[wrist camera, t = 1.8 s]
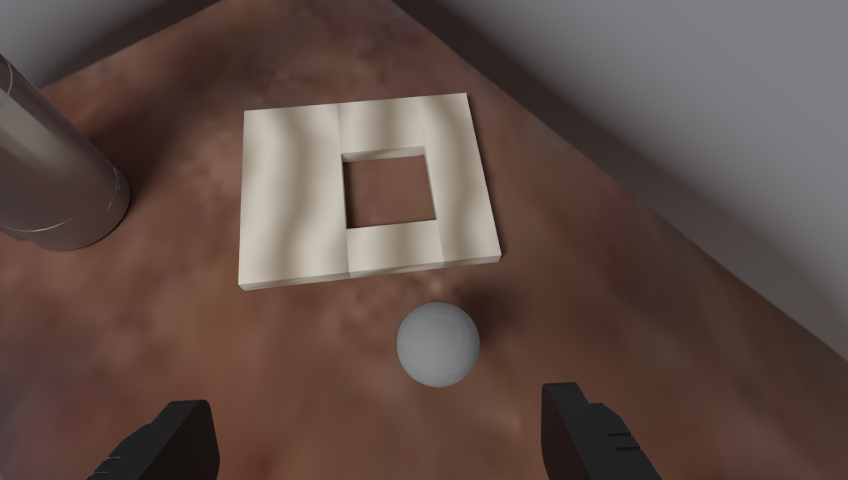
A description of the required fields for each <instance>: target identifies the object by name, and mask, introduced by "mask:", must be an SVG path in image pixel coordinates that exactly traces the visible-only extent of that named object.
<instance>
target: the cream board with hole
mask: <svg viewBox="0 0 848 480" xmlns="http://www.w3.org/2000/svg"><path fill="white" fill-rule="evenodd" d="M418 155H425V161H426V167H427V173H428V180H429V186H430V192H431V198H432V205H433V211H434V217H435V220H431V221H421V222H412V223H402V224H393V225H383V226H373V227H364V228H354V229H347V215H346V201H345V187H344V173H343V162H353V161H364V160H375V159H386V158H397V157H407V156H418ZM500 257H501V251H500V246H499V242H498V237H497V232H496V228H495V223H494V219H493V214H492V210H491V205H490V200H489V196H488V191H487V187H486V182H485V178H484V173H483V169H482V164H481V159H480V155H479V150H478V146H477V141H476V137H475V132H474V127H473V123H472V118H471V114H470V109H469V105H468V100H467V96H466V93H459V94H447V95H435V96H423V97H410V98H398V99H386V100H374V101H362V102H349V103H337V104H325V105H313V106H300V107H288V108H276V109H264V110H251V111H244V137H243V166H242V195H241V225H240V254H239V283H238V285H239V286H240V287H241V288H242V289H243V290H253V289H262V288H271V287H279V286H288V285H297V284H306V283H315V282H324V281H332V280H341V279H350V278H359V277H368V276H377V275H385V274H394V273H403V272H412V271H421V270H430V269H438V268H447V267H456V266H465V265H474V264H483V263H491V262H498V261H499V259H500Z"/></svg>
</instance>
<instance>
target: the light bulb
mask: <svg viewBox="0 0 848 480" xmlns="http://www.w3.org/2000/svg"><path fill="white" fill-rule="evenodd" d="M479 350H480V339H479V334H478V330H477V328H476V326H475V324H474V322H473V321H472V319H471V318H470V317H469V316H468V314H466V313H465V312H464V311H463V310H462V309H460V308H458V307H456V306H454V305H452V304H448V303H444V302H432V303H427V304H424V305H421V306H419V307H417V308H416V309H414V310H413V311H412V312H410V313H409V314H408V315H407V317H406V318H405V319H404V321H403V322H402V324H401V326H400V329H399V332H398V337H397V352H398V356H399V359H400V362H401V364H402V366H403V368H404V369H405V370H406V372H407V373H408V374H409V375H410V376H411V377H412V378H413V379H415V380H416V381H418V382H420V383H422V384H424V385H428V386H432V387H445V386H450V385H453V384H455V383H457V382H459V381H461V380H462V379H463V378H465V377H466V376H467V375H468V374H469V373H470V371H471V370H472V368H473V367H474V365H475V363H476V361H477V358H478V355H479Z"/></svg>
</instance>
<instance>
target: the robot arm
mask: <svg viewBox="0 0 848 480" xmlns="http://www.w3.org/2000/svg"><path fill="white" fill-rule="evenodd" d="M129 201H130V188H129V184H128V181H127V180H126V178H125V176H124V175H123V174H122V173H121V172H120V171H119V170H118V169H117V168H116V167H115V166H114V165H113V164H112V163H111V162H110V161H109V160H108V159H107V158H106V157H105V156H104V155H103V154H102V153H101V152H100V151H99V150H98V149H97V148H96V147H95V146H94V145H93V144H92V143H91V142H90V141H89V140H88V139H87V138H86V137H85V136H84V135H83V134H82V133H81V132H80V131H79V130H78V129H77V128H76V127H75V126H74V125H73V124H72V123H71V122H70V121H69V120H68V119H67V118H66V117H65V116H64V115H63V114H62V113H61V112H60V111H59V110H58V109H57V108H56V107H55V106H54V105H53V104H52V103H51V102H50V101H49V100H48V99H47V98H46V97H45V96H44V95H43V94H42V93H41V92H40V91H39V90H37V88H35V87H34V86H33V85H32V84H31V83H30V82H29V81H28V80H27V79H26V78H25V77H24V76H23V75H22V74H21V73H20V72H19V71H18V70H17V69H16V68H15V67H14V66H13V65H12V64H11V63H10V62H9V61H8V60H7V59H6V58H5V57H4V56H3V55H2V54H1V53H0V231H1V232H3V233H5V234H7V235H8V236H10V237H12V238H14V239H16V240H29V241H31V242H32V243H34V244H36V245H38V246H40V247H42V248H45V249H48V250H56V251H67V250H74V249H78V248H82V247H85V246H87V245H90V244H92V243H94V242H96V241H98V240H99V239H101V238H102V237H104V236H106V235H107V234H108V233H109V232H110V231H111V230H113V229H114V228H115V227H116V226H117V224H118V223H119V222H120V220H121V219H122V218H123V216H124V214H125V212H126V210H127V208H128V204H129ZM541 447H542V455H543V461H544V465H545V468H546V471H547V474H548V477H549V480H662V479H661V477H660V476H659V474H658V473H657V471H656V470H655V468H654V467H653V465H652V464H651V462H650V461H649V459H648V458H647V456H646V455H645V453H644V452H643V450H640V446H639V444H638V443H637V441H636V440H635V438H634V437H633V436H631V432H630V431H629V429H628V428H627V426H626V425H625V423H624V422H623V420H622V419H621V417H620V416H618V415H617V414H616V413H614V412H613V411H612V410H610V409H609V408H608V407H606V406H605V405H604V404H602V403H592V404H589V403H588V402H587V400H586V398H585V396H584V395H583V393H582V391H581V390H580V388H579V386H578V385H577V383H575V382H569V383H549V384H543V387H542V408H541ZM219 464H220V456H219V450H218V444H217V439H216V434H215V429H214V423H213V418H212V413H211V408H210V405H209V403H208V402H207V401H206V400H186V401H172V402H170V403H169V404H168V405H167V406H166V407H165V408H164V409H163V410H162V412H161V413H160V414H159V415H158V416H157V417H156V418H155V419H154V421H153V422H152V423H151V424H146V425H144V426H143V427H142V428H140V429H139V430H137V431H136V432H134V433H133V434H131V435H130V436H128V437H127V438H125V439H124V440H123V441H122V442H121V443H120V444H119V445H118V446H117V447H116V448H115V449H114V450H113V452H112V453H111V454H110V455H109V456H108V457H107V460H106V461H103V462H102V463H101V465H100V466H99V467H98V468H97V469H96V470H95V471H94V474H93V475H92V476H89V477H88V479H87V480H216V479H217V475H218V471H219Z"/></svg>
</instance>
